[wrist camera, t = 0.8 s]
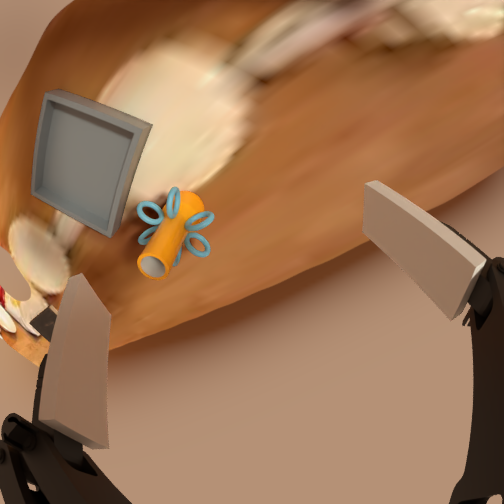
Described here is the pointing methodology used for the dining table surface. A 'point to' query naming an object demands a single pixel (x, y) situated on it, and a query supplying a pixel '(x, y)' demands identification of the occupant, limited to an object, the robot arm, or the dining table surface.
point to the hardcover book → (45, 322)
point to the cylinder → (171, 232)
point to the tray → (86, 158)
